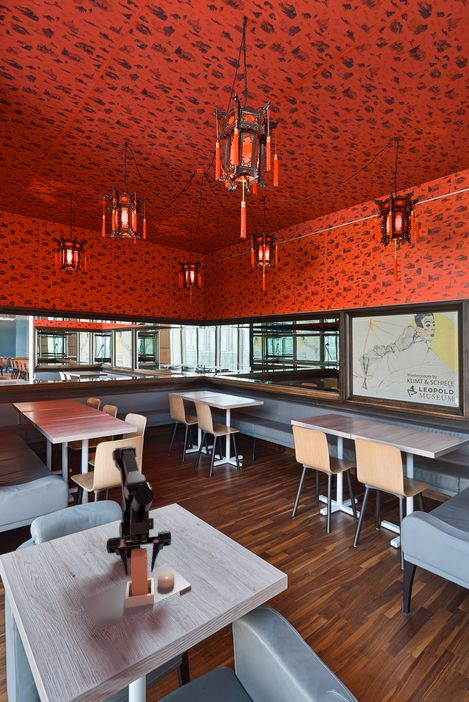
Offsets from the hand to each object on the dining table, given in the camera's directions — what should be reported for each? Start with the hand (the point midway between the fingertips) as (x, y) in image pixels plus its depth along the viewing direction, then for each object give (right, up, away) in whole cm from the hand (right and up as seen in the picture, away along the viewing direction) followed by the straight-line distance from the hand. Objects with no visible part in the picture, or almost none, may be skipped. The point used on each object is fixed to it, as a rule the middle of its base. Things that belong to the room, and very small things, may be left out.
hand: (139, 573), depth 107 cm
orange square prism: (0, -8, +2) cm, 8 cm away
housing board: (-1, -8, +3) cm, 9 cm away
